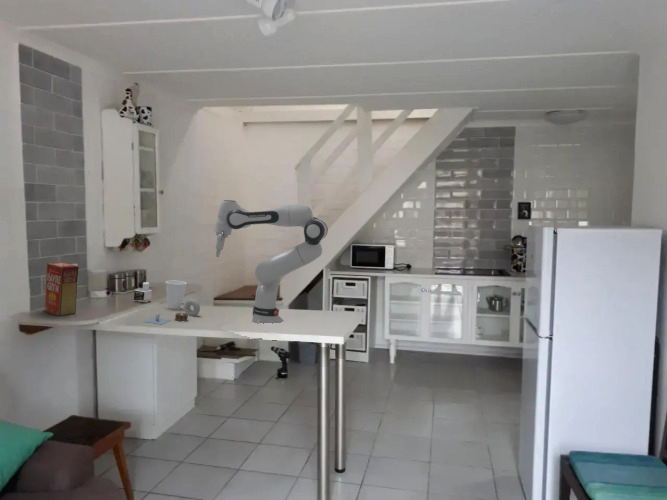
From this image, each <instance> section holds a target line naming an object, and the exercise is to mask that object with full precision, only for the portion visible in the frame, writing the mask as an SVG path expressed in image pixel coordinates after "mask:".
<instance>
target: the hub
mask: <svg viewBox="0 0 667 500" xmlns="http://www.w3.org/2000/svg"><path fill="white" fill-rule="evenodd" d="M160 315H161V313H160V312H156V314H155V317H154V316H152V317H151V318H148V319H146V320H143V322H144V323H148V324H153V325H164V324H166V323H168V322H170V321H171V319H166V318H160Z"/></svg>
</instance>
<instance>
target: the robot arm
mask: <svg viewBox="0 0 667 500" xmlns="http://www.w3.org/2000/svg"><path fill="white" fill-rule="evenodd" d="M313 215H314V214H313V211H312V209H311V207H310V206H308V205H302V204H301V205H300V204H288V205H282V206H278V207H275V208H272V209H267V210H263V211H249V210H246V208H244V207H243V206H241V205H240V204H239V203H238V202H237V201H236V200H229V199H224V200H223V201H221V202H220V206H219V208H218V212H217V220H216V221H215V224H214V225H215V226H214V230H213V232H215V236H216V243H215V245H216V246H215V249H216V253H215V257H216V258H220V254H221V251H223V250H224V247H225V246H224V245H225V242H226V239H227V238H229V236H231V235H232V232H233V230H240V229H246V228H248V227H250V226H252V225H264V224H265V225H271V226H278V227H290V228H291V227H301V228H303V235H304V241H303V242H300V244H297V245H294V246H293V247H291V248H288V249H287V250H285V251H282V252H281V253H279V254H276V255H275V256H274V255H273V256H272V257H269V258H268V259H266V260H264V261H262V262H260V263H258V265H257V266H256V269H255V271H254V276H255V278H256V280H258V284H257V288H256V291H255V298H254V305H253V308H252V319H251V323H252V322H254V323H257V324H259V323H263V324H264V323H272V324H273V323H281V322H283V321H285V320H284V319H283V317H281V316H280V315H279V314H280V308H277V307H276V306H277V297H278V291H279V287H280V281H281V278H282V277H283V276H285V275H288V274H290V273H292V272H294V271H296V270H298V269H300V268H302V267H304V266H306V265H308V264H310V263H313V262H314V261H316V260H317V259H318V258H319V257H321V256H322V255H323V247H322V245H321V242H322V240H323V239H325V237H326V236H327V235H328V231H329V230H328V226H327V224H326V223H325V222H324V221H323V220H321V219H319V218H317V217H315V216H313Z"/></svg>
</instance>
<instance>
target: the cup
mask: <svg viewBox="0 0 667 500" xmlns="http://www.w3.org/2000/svg"><path fill="white" fill-rule="evenodd" d="M187 284H188V283H187V282H186V281H182V280H174V279H173V280H166V281H165V289H166V291H165V292H166V293H165V294H166V305H167V308H168V309H171V310H179V311H180V310H181V307H182V304H183V301H184V298H185V297H184V296H185V293H186V288H187Z"/></svg>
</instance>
